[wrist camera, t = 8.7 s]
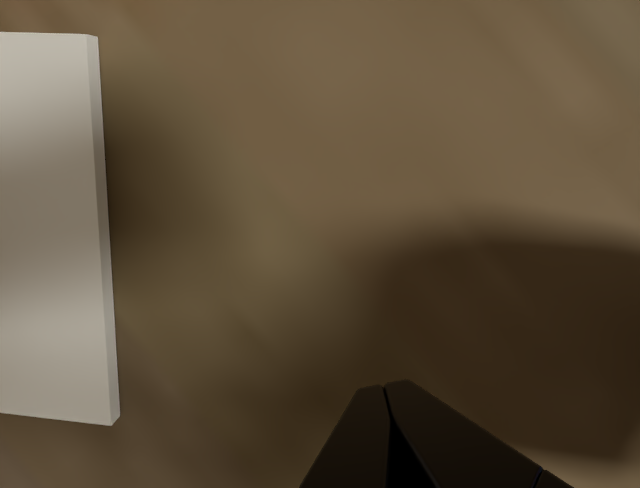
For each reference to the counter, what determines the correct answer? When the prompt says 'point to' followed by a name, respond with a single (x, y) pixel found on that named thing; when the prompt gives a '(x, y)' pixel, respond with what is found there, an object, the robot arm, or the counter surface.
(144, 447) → the counter surface
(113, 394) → the grey mat
